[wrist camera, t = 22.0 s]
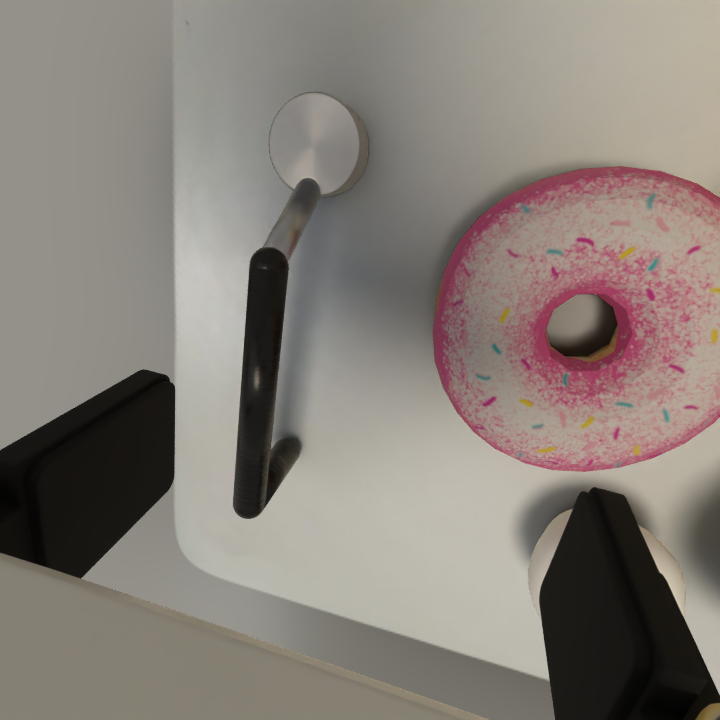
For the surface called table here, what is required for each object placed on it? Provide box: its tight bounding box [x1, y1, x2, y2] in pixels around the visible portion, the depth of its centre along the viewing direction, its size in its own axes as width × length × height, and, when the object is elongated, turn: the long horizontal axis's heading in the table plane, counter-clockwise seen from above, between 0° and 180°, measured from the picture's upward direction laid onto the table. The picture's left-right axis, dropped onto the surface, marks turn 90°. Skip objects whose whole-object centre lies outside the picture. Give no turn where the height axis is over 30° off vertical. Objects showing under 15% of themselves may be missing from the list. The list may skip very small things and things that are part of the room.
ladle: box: [233, 92, 369, 519], centre depth 23 cm, size 20×4×7 cm, turn 171°
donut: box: [433, 166, 720, 472], centre depth 21 cm, size 14×13×5 cm
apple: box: [528, 509, 686, 621], centre depth 24 cm, size 7×7×8 cm
